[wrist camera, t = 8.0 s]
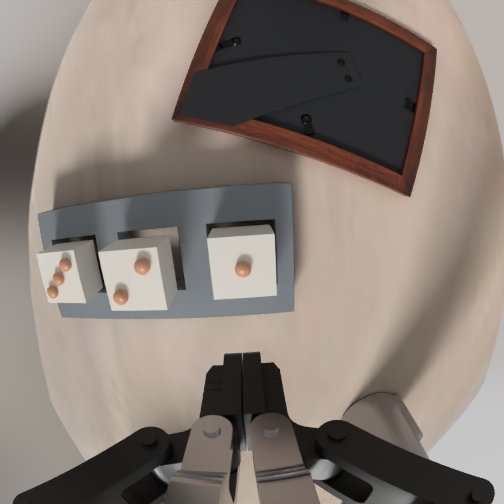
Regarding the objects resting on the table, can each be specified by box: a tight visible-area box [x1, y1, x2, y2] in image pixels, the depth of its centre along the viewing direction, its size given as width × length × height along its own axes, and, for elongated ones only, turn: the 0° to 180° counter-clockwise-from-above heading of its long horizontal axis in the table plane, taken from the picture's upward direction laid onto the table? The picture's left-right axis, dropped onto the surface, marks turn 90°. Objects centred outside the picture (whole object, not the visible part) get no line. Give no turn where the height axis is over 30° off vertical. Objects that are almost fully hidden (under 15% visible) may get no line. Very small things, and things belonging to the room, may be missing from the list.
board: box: [38, 182, 294, 319], centre depth 26 cm, size 26×12×3 cm, turn 93°
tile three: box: [36, 240, 103, 303], centre depth 23 cm, size 5×5×5 cm
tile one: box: [207, 224, 277, 300], centre depth 23 cm, size 5×5×5 cm
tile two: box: [98, 235, 178, 311], centre depth 22 cm, size 5×5×5 cm
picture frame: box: [172, 0, 437, 197], centre depth 23 cm, size 20×2×25 cm
